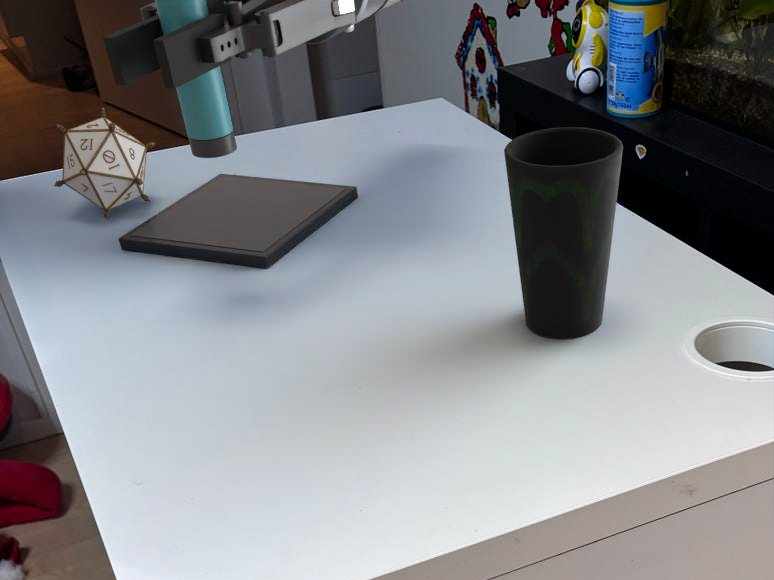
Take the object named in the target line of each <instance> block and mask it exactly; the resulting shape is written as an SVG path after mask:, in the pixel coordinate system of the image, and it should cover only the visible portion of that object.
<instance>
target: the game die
mask: <svg viewBox="0 0 774 580" xmlns="http://www.w3.org/2000/svg"><path fill="white" fill-rule="evenodd" d="M99 112H100V113H99V114H100V116H101V117H97V118H95V119H93V120H90V121H87V122H85V123H82V124H80V125H77V126H74V127H71V128H69V129H66V128H65V126H63V124H59V123H58V124H57V123H56V124H55V125H56V127H57V130H58V131H60V133H63V153H62V154H63V155H62V174H61V175H62V177H61V180H56V181H55V183H54V185H53V187H57V188H60V187H63V185H65V186H66V187H68V188H70V189H71V190H72V191H74V192H76V193H77V194H78V195H80V196H81V197H83V198H85V199H86V200H87V201H89V202H91V203H92V204H93V205H95V206H97V207H98V208H100V210H103V213H102V214H103V215H102V217H103V218H104V219H105V221H106V222H107V221H108V219H109V218H110V212H109V211H111V210H113V209H116V208H118V207H120V206H122V205H125V204H127V203H129V202H132V201H134V200H136V199H139V198H142V200H144V202H151V201H150V200H151V199H150V197H149V196H148V195H147V194H145V193H144V191H145V190H144V188H145V178H146V164H147V154H148V153H147V152H148V149H150V150H151V149H153V148H154V146H155V144H156V142H152V141H149V142H147V143H145V144H144V143H143V142H141V140H139V139H138V138H136V137H134V136H133V135H131V134H130V133H129V132H127V131H126V130H125V129H123V128H121V127H120V126H119V125H118V124H116V123H114V122H113V121H111V120H110V119H109V118H107V117H106V116H107V110H106V109H105V107H104V106H103V107H102V108H101V110H100V111H99Z"/></svg>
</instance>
